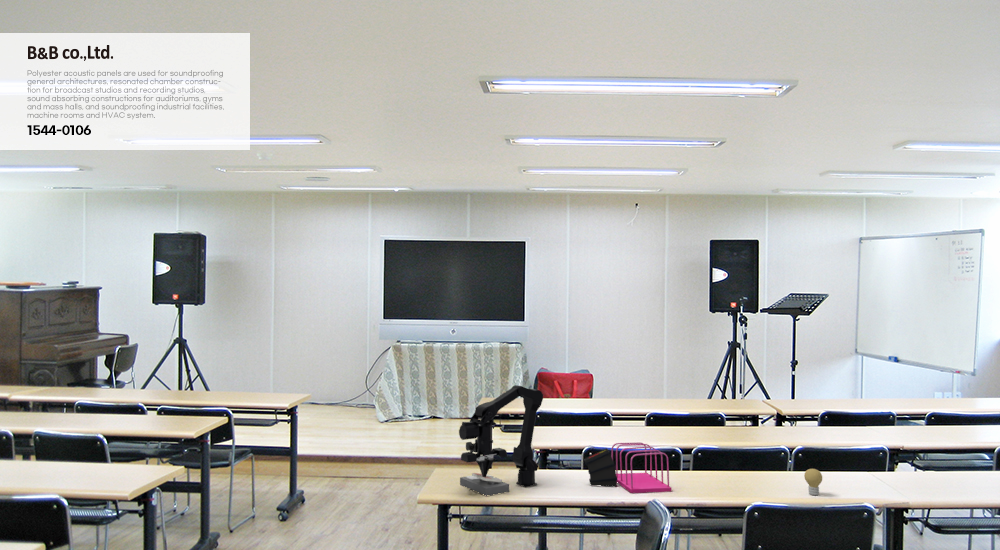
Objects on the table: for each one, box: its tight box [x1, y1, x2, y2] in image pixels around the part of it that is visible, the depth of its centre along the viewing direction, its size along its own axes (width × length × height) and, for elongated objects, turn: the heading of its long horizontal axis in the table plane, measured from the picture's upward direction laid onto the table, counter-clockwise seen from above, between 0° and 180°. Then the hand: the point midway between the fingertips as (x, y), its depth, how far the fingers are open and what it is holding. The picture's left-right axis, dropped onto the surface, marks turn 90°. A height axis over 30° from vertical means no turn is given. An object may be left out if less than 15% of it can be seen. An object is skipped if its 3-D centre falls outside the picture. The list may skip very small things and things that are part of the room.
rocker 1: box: [471, 472, 494, 478], centre depth 255 cm, size 8×4×1 cm, turn 123°
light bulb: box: [804, 468, 823, 496], centre depth 246 cm, size 6×6×10 cm
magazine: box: [583, 448, 618, 487], centre depth 259 cm, size 4×13×15 cm, turn 85°
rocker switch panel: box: [459, 475, 510, 497], centre depth 254 cm, size 11×20×4 cm, turn 34°
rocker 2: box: [480, 476, 503, 482], centre depth 250 cm, size 8×4×1 cm, turn 123°
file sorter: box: [610, 442, 673, 494], centre depth 261 cm, size 17×25×16 cm
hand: (484, 476), depth 248 cm, fingers closed
